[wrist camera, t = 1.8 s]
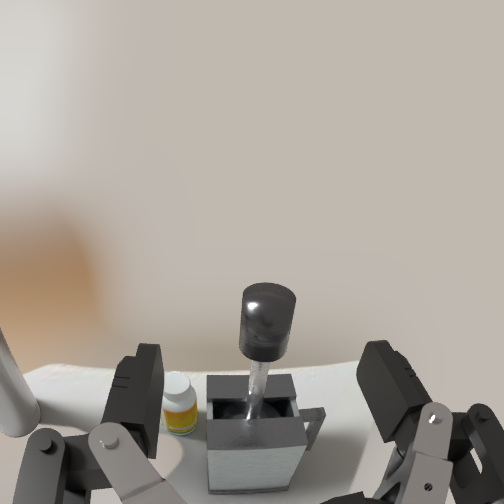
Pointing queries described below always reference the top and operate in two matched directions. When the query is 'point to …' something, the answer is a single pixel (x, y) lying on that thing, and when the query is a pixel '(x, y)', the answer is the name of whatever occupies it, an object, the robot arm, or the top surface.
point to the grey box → (256, 436)
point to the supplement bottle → (178, 404)
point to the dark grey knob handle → (262, 343)
